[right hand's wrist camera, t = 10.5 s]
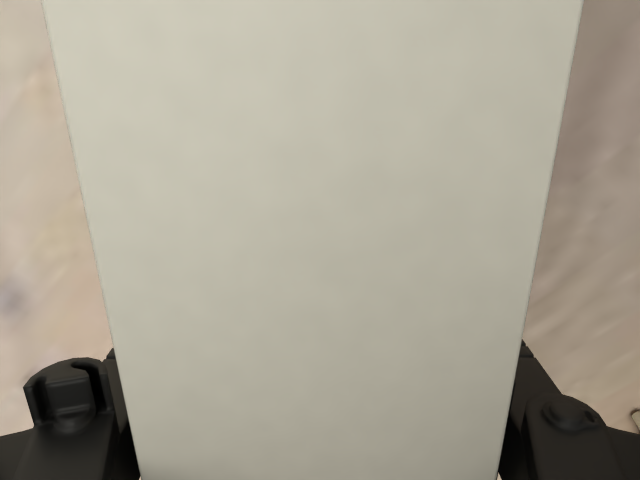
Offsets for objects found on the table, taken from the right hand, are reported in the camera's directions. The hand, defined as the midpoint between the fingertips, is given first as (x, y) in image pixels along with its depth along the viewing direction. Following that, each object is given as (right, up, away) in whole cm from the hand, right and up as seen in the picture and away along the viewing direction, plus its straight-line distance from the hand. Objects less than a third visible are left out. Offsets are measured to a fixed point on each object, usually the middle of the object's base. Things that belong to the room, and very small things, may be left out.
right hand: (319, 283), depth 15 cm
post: (0, +28, -11) cm, 30 cm away
